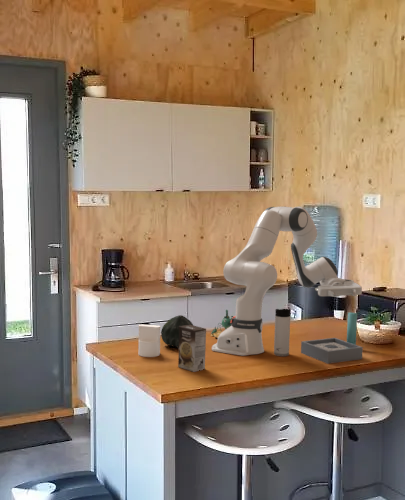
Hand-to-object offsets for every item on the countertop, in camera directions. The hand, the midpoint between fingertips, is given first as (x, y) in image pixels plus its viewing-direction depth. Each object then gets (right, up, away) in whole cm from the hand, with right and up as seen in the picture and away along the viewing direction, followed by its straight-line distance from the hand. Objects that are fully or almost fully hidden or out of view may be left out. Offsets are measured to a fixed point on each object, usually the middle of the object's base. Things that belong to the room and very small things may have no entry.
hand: (344, 294), depth 290 cm
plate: (-10, -24, -21) cm, 34 cm away
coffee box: (-69, -26, -44) cm, 85 cm away
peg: (+1, -23, -9) cm, 25 cm away
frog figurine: (-54, -21, +6) cm, 58 cm away
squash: (-75, -22, -10) cm, 79 cm away
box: (-10, -24, -21) cm, 34 cm away
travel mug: (-31, -24, -21) cm, 45 cm away
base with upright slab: (-87, -23, -25) cm, 93 cm away
